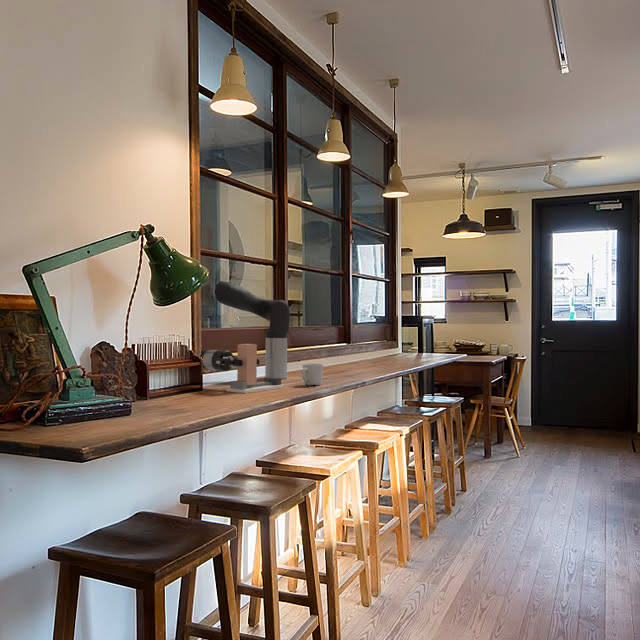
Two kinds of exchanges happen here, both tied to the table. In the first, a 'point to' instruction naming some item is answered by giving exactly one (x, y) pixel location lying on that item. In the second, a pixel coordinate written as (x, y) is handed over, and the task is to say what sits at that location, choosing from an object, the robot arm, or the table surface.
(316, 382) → the cup
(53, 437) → the table surface
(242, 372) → the block
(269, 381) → the rail board
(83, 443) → the table surface
